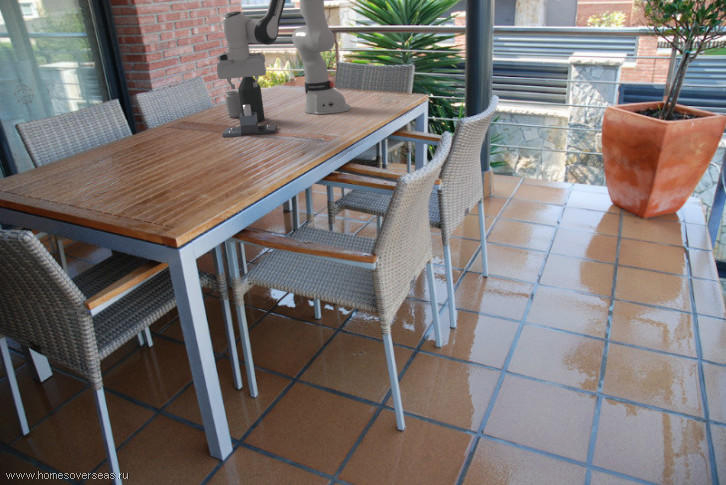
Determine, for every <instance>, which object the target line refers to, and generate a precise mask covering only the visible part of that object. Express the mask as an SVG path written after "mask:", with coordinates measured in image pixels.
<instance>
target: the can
mask: <svg viewBox="0 0 726 485" xmlns="http://www.w3.org/2000/svg"><path fill="white" fill-rule="evenodd" d="M224 97H225V102H226V109H227V115H228V117H230V118H232V119H236V118H237V119H238V118H239V116H240V114H241V113H242V112H241V105H240V98H239V91H238V90H232V91H227V92H226V94H225V96H224Z"/></svg>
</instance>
